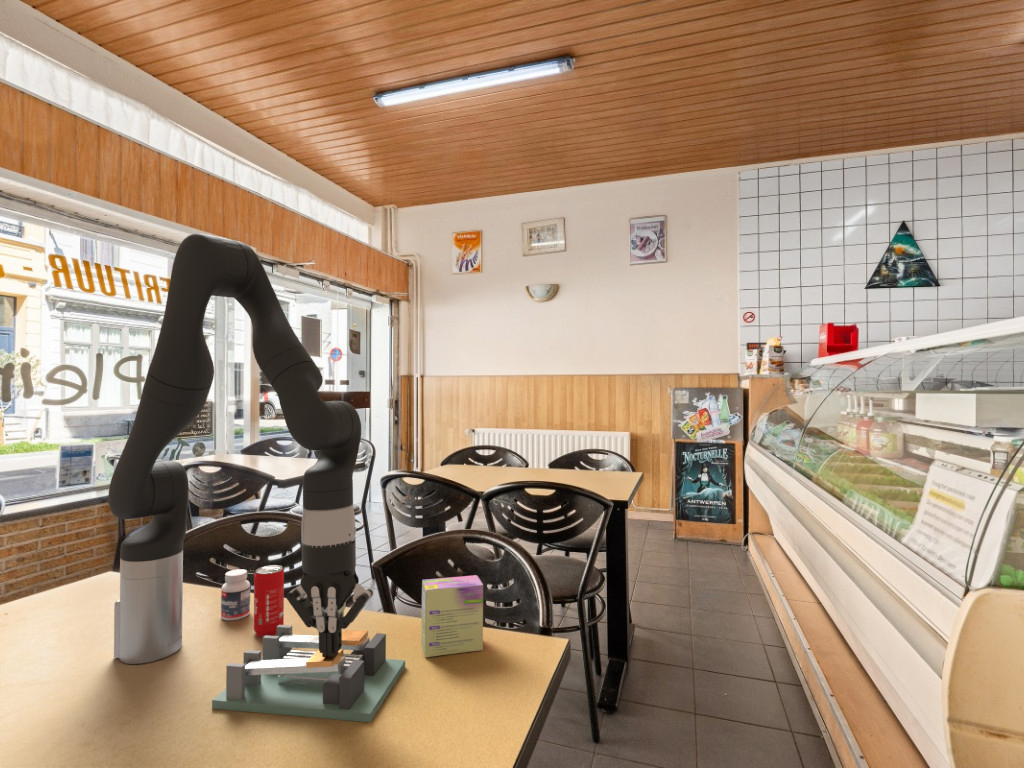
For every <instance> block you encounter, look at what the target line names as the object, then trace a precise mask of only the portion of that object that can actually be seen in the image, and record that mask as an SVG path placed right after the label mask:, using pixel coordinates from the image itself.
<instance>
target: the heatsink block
mask: <svg viewBox="0 0 1024 768" xmlns="http://www.w3.org/2000/svg"><path fill="white" fill-rule="evenodd" d="M316 652H317V651H313V650H308V651H307V650H299V649H298V650H297V649H295V650H294V649H292V650H291V651H290V653H288V654H286V656H284V657H283V659H297V658H311V657H312V656H313V655H314V654H315V653H316ZM343 656H345V661H346V663H345V664H344V665H343V667H342V668H341V669H340V670H339V671H334V672H312V673H289V674H279V677H278V683H281V684H294V685H306V686H319V687H323V685H324V683H325V682H326V681H327V680H328V679H329V678H330V677H331V676H332V674H343V673H344V671H345V670H346V669H347V668H348V667H349V665H350V664H351V663H352V662H353V661H354V660H361V661H363V655H355V654H351V653H344V654H343Z"/></svg>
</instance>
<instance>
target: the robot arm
mask: <svg viewBox="0 0 1024 768" xmlns="http://www.w3.org/2000/svg"><path fill="white" fill-rule="evenodd" d="M176 250H177V251H176V253H175V256H174V259H173V263H172V267H171V273H170V274H171V275H170V279H169V285H168V291H167V298H166V303H165V310H164V314H163V318H162V323H161V325H160V326H161V327H160V331H159V335H158V338H157V342H156V344H155V345H156V346H155V348H154V353H153V356H152V358H151V361H150V364H149V367H148V370H147V372H146V373H147V374H146V376H145V377H146V378H145V381H144V383H143V386H142V391H141V394H140V395H141V396H140V398H139V399H140V400H139V404H138V407H137V410H136V414H135V417H134V420H133V424H132V427H131V430H130V432H129V434H128V438H127V439H126V443H125V445H124V447H123V450H122V452H121V454H120V456H119V459H118V461H117V464H116V465H115V468H114V470H113V474H112V477H111V479H110V484H109V488H108V495H107V496H108V499H107V500H108V505H109V509H110V512H111V514H112V515H113V516H114V517H116V518H118V519H120V520H133V519H134V520H135V519H142V518H146V517H151V516H152V518H151V520H150V521H149V523H148V524H146V526H144V527H143V528H141V529H140V530H139V531H137V532H135V533H133V534H131V535H130V536H128V537H126V538H125V539H124V540H123V541H122V542H121V544H120V549H119V550H120V551H119V554H120V555H119V557H120V560H119V562H120V565H119V566H120V567H119V599H118V600H116V601H115V602H114V611H113V612H114V614H113V616H114V617H113V618H114V619H113V621H114V622H113V623H114V625H113V627H114V629H113V658H114V659H119V661H120V662H122V663H123V664H126V665H127V664H128V665H129V664H130V665H136V664H137V665H140V664H146V663H151V662H155V661H158V660H161V659H165V658H167V657H169V656H172V655H174V654H175V653H176V652H178V651H179V650H180V649H181V648H182V646H183V601H184V600H183V595H184V594H183V593H184V592H183V590H184V589H183V588H184V585H183V584H184V583H183V582H184V581H183V580H184V578H183V577H184V576H183V575H184V572H183V571H184V565H183V563H184V562H183V561H184V541H185V537H186V533H187V525H188V524H187V521H188V518H187V517H188V507H189V495H190V494H189V490H190V487H189V477H188V474H187V471H186V469H185V467H184V465H182V464H181V463H180V462H179V461H175V460H166V461H157V460H158V458H159V456H160V455H161V454H162V452H163V451H164V449H165V448H166V447H167V446H168V445H169V444H170V443H171V442H172V441H174V439H175V438H176V437H178V436H179V435H180V434H181V433H182V432H183V431H184V430H185V429H186V428H187V427H188V426H189V425H191V423H192V422H194V420H195V419H197V418H198V416H199V415H200V414H201V412H202V411H203V409H204V408H205V405H206V403H207V400H208V396H209V393H210V390H211V387H212V385H213V380H214V376H215V366H214V361H213V359H212V355H211V353H210V350H209V347H208V345H207V344H208V343H207V342H206V341H207V340H206V338H205V335H204V320H205V315H206V311H207V307H208V304H209V301H210V299H211V297H222V298H233V299H235V300H236V301H237V303H239V304H240V306H241V307H242V308H243V309H244V311H245V312H246V314H247V315H248V316H249V319H250V322H251V328H252V333H251V334H252V336H251V338H252V340H251V343H252V352H253V355H254V359H255V362H256V364H257V365H258V367H259V370H261V372H262V374H263V375H264V376H265V378H266V380H267V381H268V383H269V384H270V386H271V388H272V389H273V390H274V392H275V393H276V395H277V398H278V401H279V406H280V409H281V412H282V416H283V419H284V422H285V424H286V427H287V430H288V432H289V434H290V436H291V437H292V439H293V440H294V441H295V443H297V445H300V446H301V447H302V448H303V449H306V450H309V451H312V452H313V451H316V452H319V453H318V455H317V456H318V457H317V460H316V462H315V463H314V464H313V465H312V466H310V467H309V468H308V469H307V470H305V471H304V474H303V477H302V508H303V509H302V515H301V516H302V517H301V570H302V573H303V574H302V576H301V577H300V582H299V583H300V584H299V585H298V586H296V587H294V588H293V589H292V590H290V591H289V592H287V593H286V596H285V597H286V600H287V601H288V603H289V604H290V606H291V607H292V608H293V610H294V611H295V613H296V614H297V615H298V617H299V618H300V620H301V621H302V622H303V624H304V625H305V626H306V627H307V628H314V629H316V630H317V632H318V636H319V649H318V650H319V651H320V653H322V657H330V658H333V657H334V656H335V655H336V654H337V653H338V651H339V650H340V649H341V647H342V633H343V631H342V630H347V628H348V627H349V626H350V624H351V623H353V622H354V621H355V620H356V618H357V617H358V616H359V614H360V613H361V612H362V610H363V609H364V607H365V606H366V605H367V603H368V602H369V600H370V599H371V598H372V596H373V595H374V591H373V590H372V589H370V588H367V589H366V588H364V587H363V586H362V585H361V584H360V583H359V582H360V579H359V576H358V574H357V571H356V566H357V565H356V564H357V553H356V551H357V550H356V545H357V544H356V541H357V540H356V539H357V537H356V535H357V527H356V517H355V516H356V515H355V510H354V482H353V481H354V480H353V476H354V470H355V468H356V464H357V459H358V454H359V451H360V444H361V440H362V422H361V418H360V414H359V412H358V411H357V409H356V408H355V406H353V405H352V404H351V403H349V402H347V401H344V400H328V401H326V400H325V401H324V400H323V399H322V397H321V396H320V394H319V392H318V391H319V390H320V389H321V387H322V385H323V381H324V379H323V375H322V372H321V371H320V368H319V367H318V366H317V364H316V363H315V361H314V360H313V358H312V357H311V355H310V354H309V352H308V351H307V350H306V348H305V346H304V345H303V344H302V342H301V340H300V339H299V338H298V335H296V333H295V331H294V329H293V327H292V326H291V324H290V322H289V320H288V319H287V316H286V314H285V312H284V309H283V307H282V305H281V303H280V301H279V298H278V296H277V293H276V292H275V289H274V288H273V284H271V280H270V279H269V276H268V274H267V271H266V269H265V268H264V265H263V264H262V261H261V260H260V258H259V256H258V255H257V253H256V252H255V250H254V249H253V248H252V247H251V246H250V245H248V244H246V243H243V242H241V241H238V240H235V239H230V238H225V237H220V236H217V235H212V234H211V235H210V234H205V233H200V232H199V233H191V234H189V235H187V236H186V237H184V239H183V240H182V241H181V242H180V244H179V246H178V248H177V249H176ZM156 461H157V462H156ZM352 594H353V595H352ZM351 595H352V602H353V604H352V606H351V607H350V609H349V610H348V611H347V612H346V614H344V613H345V610H346V603H347V602H348V600H350V599H349V598H350V597H351Z"/></svg>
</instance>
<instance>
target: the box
mask: <svg viewBox="0 0 1024 768" xmlns="http://www.w3.org/2000/svg"><path fill="white" fill-rule="evenodd" d="M421 581H422V582H421V633H420V634H421V639H420V640H421V645H422V646H421V647H422V650H423V653H424V657H425V658H431V657H440V656H444V655H445V656H446V655H451V654H462V653H468V652H469V653H471V652H477V651H478V652H481V651H483V650H484V649H483V648H484V647H483V646H484V644H483V643H484V641H483V640H484V639H483V637H484V583H483V582H482V581H481V579H480V577H479V576H478V575H476V574H474V575H464V576H452V577H439V578H430V579H428V578H426V579H422V580H421Z"/></svg>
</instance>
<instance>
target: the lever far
mask: <svg viewBox="0 0 1024 768" xmlns="http://www.w3.org/2000/svg"><path fill="white" fill-rule="evenodd" d="M278 636H279V647H288V648H292V649H294V648H295V649H316V650H317V649H318V650H319V635H316V634H315V635H314V634H313V635H311V634H309V635H308V634H292V635H289V634H284V633H281V634H279V635H278ZM368 636H369V630H353V629H344V630H343V631H342V647H341V649H343V651H353V650H365V647H366V645H367V644H368V643H369V642H370V641H371V639H370V637H368Z"/></svg>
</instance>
